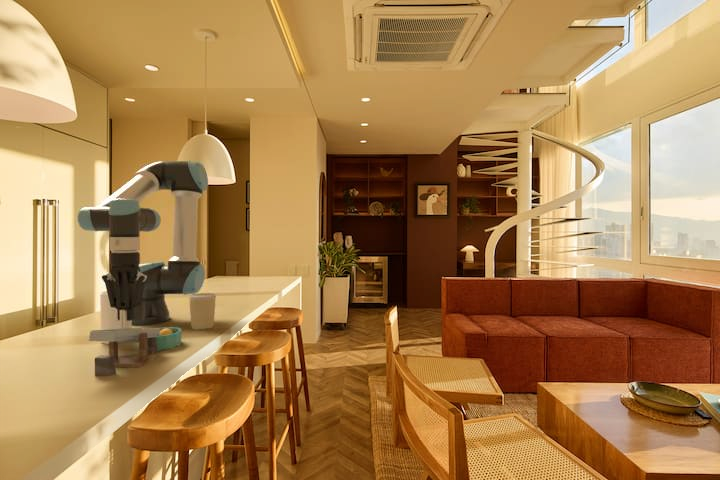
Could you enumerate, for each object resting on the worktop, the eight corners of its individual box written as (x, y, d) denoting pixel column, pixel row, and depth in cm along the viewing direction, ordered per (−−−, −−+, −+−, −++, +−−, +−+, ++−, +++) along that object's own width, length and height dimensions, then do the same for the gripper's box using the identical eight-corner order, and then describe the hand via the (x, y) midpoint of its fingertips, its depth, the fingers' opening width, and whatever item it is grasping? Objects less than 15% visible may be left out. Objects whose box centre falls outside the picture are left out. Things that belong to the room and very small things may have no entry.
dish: (156, 339, 124) (155, 326, 124) (187, 340, 123) (187, 327, 123) (133, 349, 113) (133, 336, 113) (168, 350, 112) (168, 337, 112)
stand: (132, 350, 113) (132, 324, 112) (167, 351, 112) (167, 325, 112) (81, 374, 94) (81, 343, 94) (123, 376, 93) (123, 344, 93)
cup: (136, 336, 127) (135, 290, 126) (118, 344, 118) (117, 294, 118) (113, 336, 127) (113, 289, 127) (94, 343, 119) (93, 293, 119)
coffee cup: (207, 322, 147) (206, 292, 147) (221, 326, 142) (220, 294, 141) (184, 327, 140) (183, 295, 139) (198, 331, 134) (197, 298, 134)
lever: (123, 339, 112) (124, 327, 113) (159, 340, 111) (160, 328, 112) (69, 344, 93) (71, 329, 94) (112, 345, 92) (114, 330, 93)
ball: (158, 343, 119) (164, 335, 123) (170, 343, 119) (176, 335, 123) (155, 333, 118) (161, 325, 122) (167, 333, 118) (173, 326, 121)
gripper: (93, 252, 106) (94, 334, 107) (138, 252, 105) (138, 335, 106) (112, 250, 114) (113, 327, 114) (154, 251, 113) (155, 328, 113)
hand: (125, 331), depth 110 cm, fingers closed
